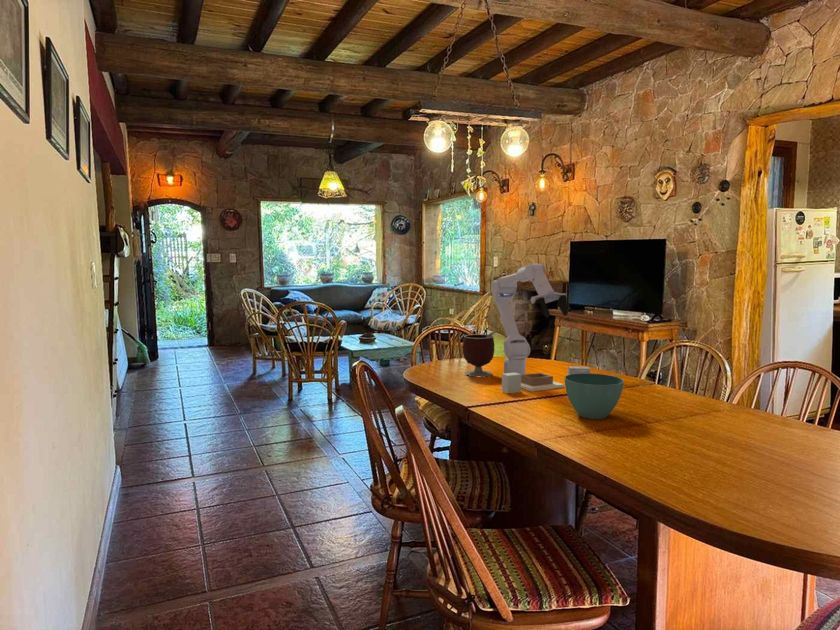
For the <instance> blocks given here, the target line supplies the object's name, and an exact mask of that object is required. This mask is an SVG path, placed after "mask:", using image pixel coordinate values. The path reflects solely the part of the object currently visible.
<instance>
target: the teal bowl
mask: <svg viewBox="0 0 840 630" xmlns="http://www.w3.org/2000/svg"><path fill="white" fill-rule="evenodd" d="M624 383H625V382H624V379H622V378H621V377H618V376H614V375H610V374H603V373H592V372H590V373H577V374H570V375H568V374H566V375H565V376H564V388H565V392H566V396H567V398H568V400H569V402H570V404H571V406H572V407H573V409H574V410H575V413H577V414H578V416H580V417H582V418H584V419H590V420H602V419H605V418H607V417H608V416H609V415H610V414H611V413H612V412H613V411H614V409H615V408H616V406H617V405H618V403H619V401H620V398H621V396H622V392H623V388H624Z"/></svg>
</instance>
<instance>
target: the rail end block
mask: <svg viewBox="0 0 840 630" xmlns="http://www.w3.org/2000/svg"><path fill="white" fill-rule="evenodd" d="M502 391H503V392H502ZM501 392H502V393H504V392H506V393H505V394H507V393H511V394H516V392H519V393H521V392H522V388H521V374H518V373H505V374H504V373H501Z"/></svg>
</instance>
